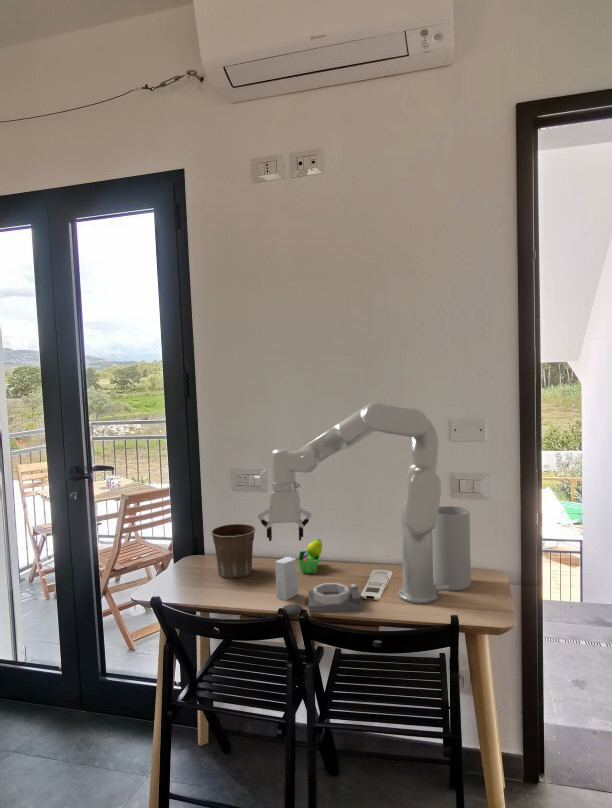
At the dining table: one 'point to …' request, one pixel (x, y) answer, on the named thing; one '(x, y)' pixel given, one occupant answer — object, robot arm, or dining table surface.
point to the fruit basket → (310, 557)
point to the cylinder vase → (452, 548)
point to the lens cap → (292, 609)
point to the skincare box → (286, 578)
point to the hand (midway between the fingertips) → (285, 539)
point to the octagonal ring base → (334, 598)
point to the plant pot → (234, 549)
